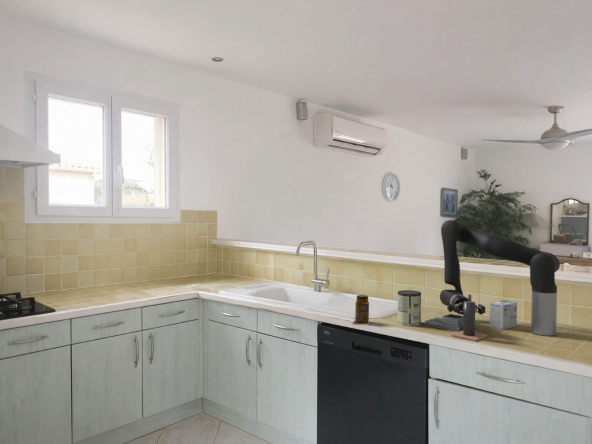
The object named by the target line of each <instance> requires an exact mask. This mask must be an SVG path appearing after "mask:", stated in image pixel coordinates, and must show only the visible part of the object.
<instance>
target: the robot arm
mask: <svg viewBox="0 0 592 444" xmlns="http://www.w3.org/2000/svg"><path fill="white" fill-rule="evenodd" d="M440 234H441V241H442V248H443V257H444V259H443V261H444V264H443V265H444V274H443V275H444V276H443V277H444V278H443V280H444V281H443V282H444V284H446V285H450V286H453V287H454V289H447V288H445V289H443V290H441V292H440V294H439V300H440V303H441V304H442V305H444V306H447V307H446V309H447V310H448V312H449V313H452V312H454V313H456V314H457V315H460V316H463V307H464V301H468V297H466V296H465V295H464V293H463V288H462V285H461V265H460V259H459V255H458V251H457V242H460V243H464V244H467V245H471V246H473V247H475V249H478V250H480V251H481V252H483V253H485V254H487V255H490V256H492V257H495V258H498V259H501V260H505V261H509V262H510V261H511V262H516V263H519V264H522V265H523V264H524V265H526V266H528V267H529V282H530V286H531V311H530V312H531V317H530V318H531V319H530V320H531V321H530V332H531V333H533V334H534V335H541V336H550V337H551V336H556V335H557V323H558V322H557V318H558V315H557V312H558V309H557V307H558V306H557V305H558V287H557V284H556V279H555V278H556V275H555V273H556V272H558V271H559V270H560V266H561V263H560V260H559V258H558V257H557V256H556V255H555V254H553V253H552V252H546V251H543V250H540V249H539V250H538V249H535V248H530V247H528V246H525V245H523V244H521V243H518V242H516V241H513V240H511V239H507V238H505V237H503V236H500V235H498V234H493V233H491V232H486V231H480V230H477V229H474V228H472V227H470V226H467V225H466V224H463V223H462V222H459V221H456V220H452V219H449V220H448V219H447V220H445V221H444V222H443V223H442V225H441V228H440ZM477 313H478V315H481V316H482V315H484V314H486V306H485V305H483V304H480V303H478V305H477V304H475V314H477Z"/></svg>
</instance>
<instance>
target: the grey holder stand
mask: <svg viewBox="0 0 592 444" xmlns="http://www.w3.org/2000/svg"><path fill="white" fill-rule="evenodd" d="M424 325H425V326H428V327H433V328H437V329H442V330H447V331H451V332H455V333H457V332H460V331H463V315H461V314H453V313H450V314H449V313H448V314H446V315H443V316H441V317H434V318H429V319H427V320H424Z"/></svg>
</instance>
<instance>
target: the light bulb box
mask: <svg viewBox="0 0 592 444" xmlns="http://www.w3.org/2000/svg"><path fill="white" fill-rule="evenodd" d="M517 321H518V302H517V301H511V300H510V301H509V300H505V299H504V300H499V301H493V302H489V327H491V328H493V329H494V328H495V329H499V330H506V329H512V328H515V327H517V326H518V323H517Z"/></svg>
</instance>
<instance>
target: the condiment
mask: <svg viewBox="0 0 592 444" xmlns="http://www.w3.org/2000/svg"><path fill="white" fill-rule="evenodd" d="M354 317H355V318H354V320H353V322H352V324H353V325H362V326H369V325H370V323H371V320H370V302H369V296H368V295H365V294H358V295H356V301H355V316H354Z"/></svg>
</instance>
